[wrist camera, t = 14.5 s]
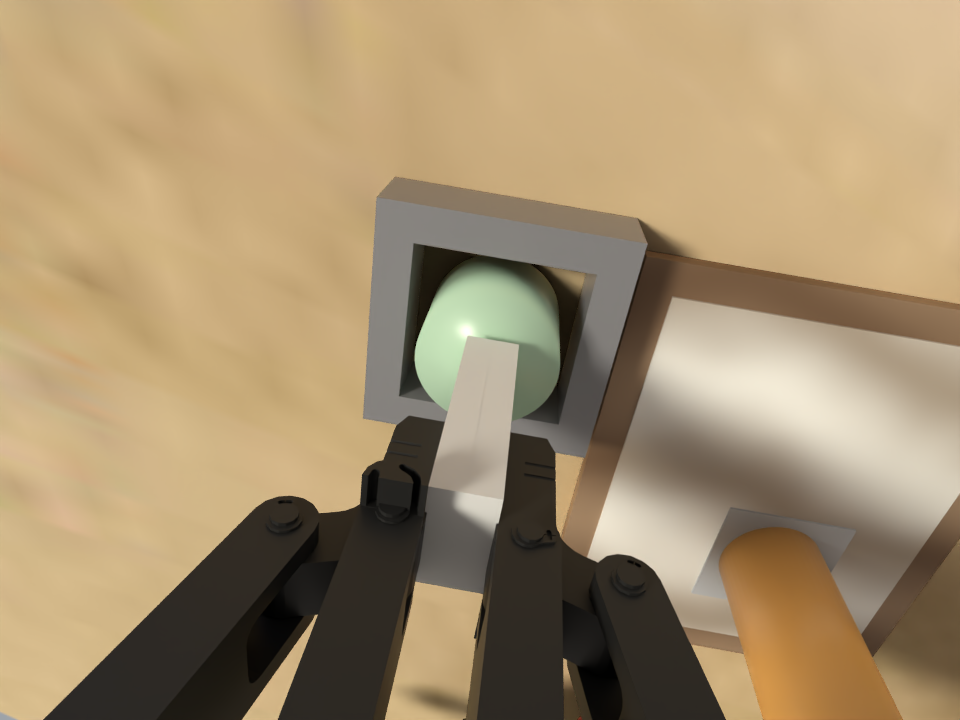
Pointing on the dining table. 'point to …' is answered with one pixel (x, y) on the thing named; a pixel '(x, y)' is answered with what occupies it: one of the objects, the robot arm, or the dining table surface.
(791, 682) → the orange marker
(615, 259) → the button housing
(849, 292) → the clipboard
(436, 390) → the button
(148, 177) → the dining table surface
